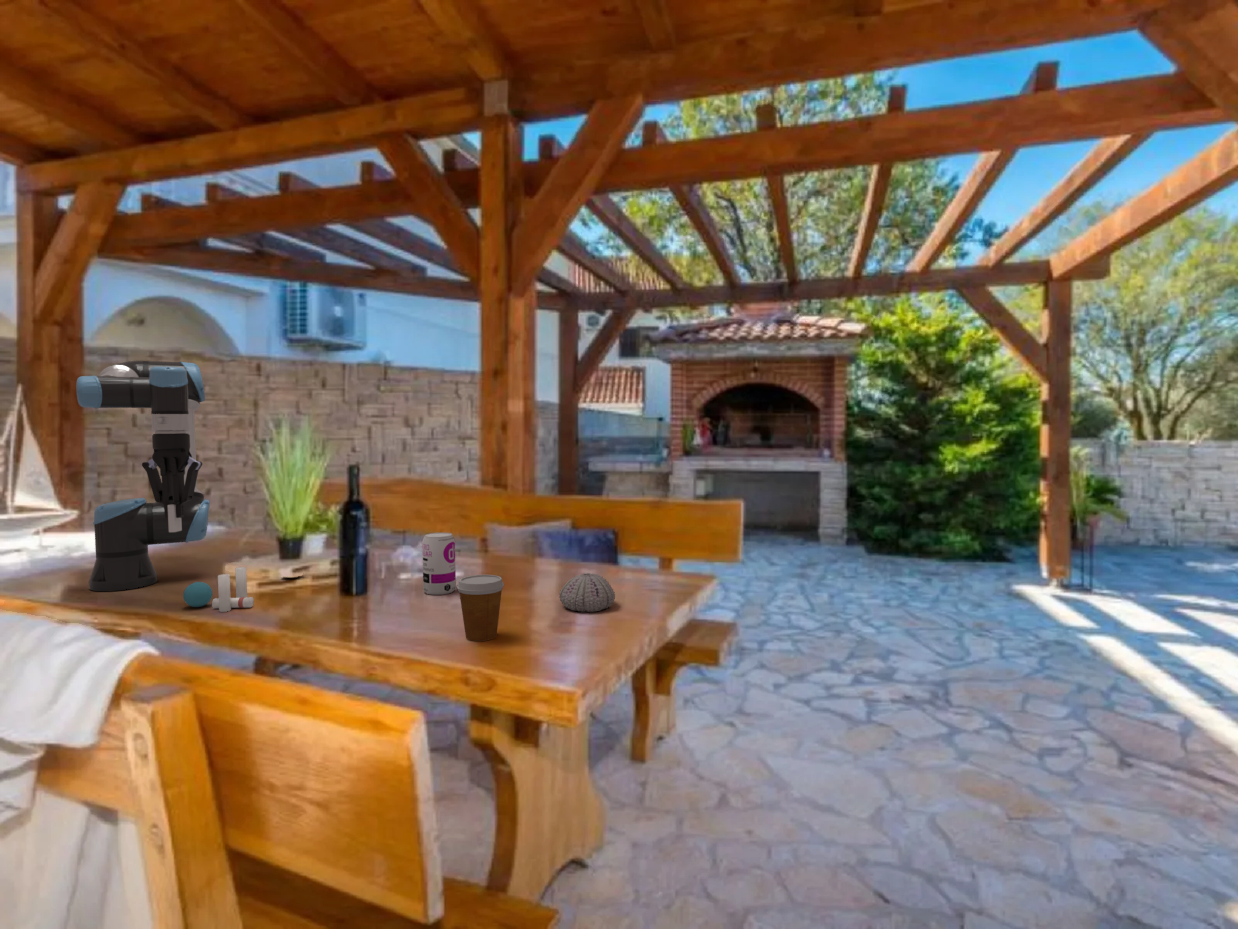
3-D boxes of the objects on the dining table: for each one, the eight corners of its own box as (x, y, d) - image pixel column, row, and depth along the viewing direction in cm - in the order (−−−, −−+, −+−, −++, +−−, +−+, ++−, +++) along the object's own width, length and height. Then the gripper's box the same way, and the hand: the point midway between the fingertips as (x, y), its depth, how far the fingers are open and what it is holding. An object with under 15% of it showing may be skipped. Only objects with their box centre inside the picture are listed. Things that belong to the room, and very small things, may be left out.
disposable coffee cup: (461, 630, 147) (460, 574, 146) (506, 629, 148) (505, 573, 147) (454, 644, 138) (453, 585, 137) (502, 643, 139) (501, 584, 138)
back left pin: (236, 601, 172) (234, 567, 171) (247, 600, 173) (245, 566, 172) (236, 603, 170) (235, 569, 169) (247, 602, 171) (246, 568, 170)
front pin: (210, 602, 164) (248, 601, 164) (215, 595, 166) (252, 594, 166) (213, 610, 165) (250, 609, 165) (218, 604, 167) (254, 603, 168)
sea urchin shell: (622, 602, 170) (621, 569, 170) (606, 617, 157) (606, 582, 157) (571, 598, 174) (570, 566, 174) (551, 612, 161) (551, 578, 161)
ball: (207, 573, 168) (221, 593, 168) (197, 584, 171) (211, 604, 171) (183, 584, 163) (198, 604, 163) (173, 595, 166) (188, 615, 165)
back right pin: (218, 610, 164) (217, 574, 163) (230, 608, 165) (229, 573, 164) (219, 612, 162) (218, 576, 161) (231, 611, 163) (229, 575, 162)
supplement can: (461, 589, 183) (460, 533, 182) (444, 596, 176) (443, 538, 175) (435, 586, 186) (434, 531, 185) (416, 594, 178) (415, 536, 177)
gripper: (132, 433, 160) (137, 534, 162) (190, 432, 161) (194, 533, 162) (152, 432, 168) (157, 529, 169) (207, 432, 168) (211, 528, 170)
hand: (175, 531), depth 166 cm, fingers closed
